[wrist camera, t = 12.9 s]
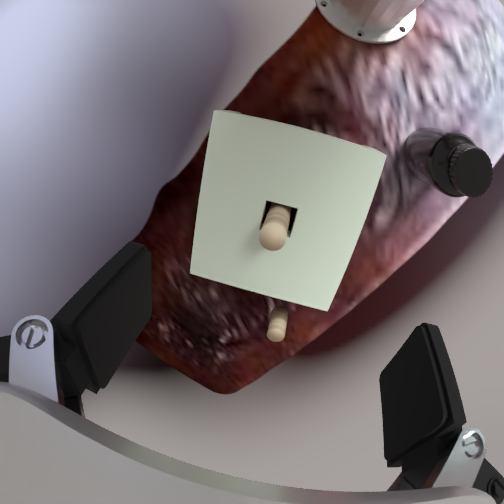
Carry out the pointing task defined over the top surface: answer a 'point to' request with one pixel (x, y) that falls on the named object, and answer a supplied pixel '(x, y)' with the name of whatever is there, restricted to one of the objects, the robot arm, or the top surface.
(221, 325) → the top surface
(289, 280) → the plate
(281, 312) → the short birch pin
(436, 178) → the supplement bottle
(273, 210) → the long birch pin
